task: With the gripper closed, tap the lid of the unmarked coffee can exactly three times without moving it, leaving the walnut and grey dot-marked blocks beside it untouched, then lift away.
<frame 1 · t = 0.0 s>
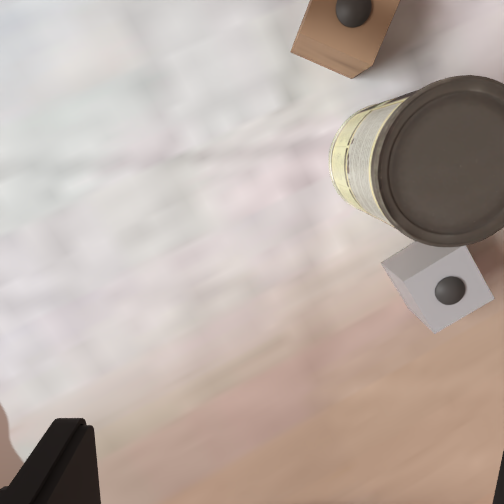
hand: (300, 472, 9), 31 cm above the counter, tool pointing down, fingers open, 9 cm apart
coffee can: (380, 159, 38), on the counter
walnut dotted block: (334, 31, 35), on the counter
grey dotted block: (420, 270, 41), on the counter
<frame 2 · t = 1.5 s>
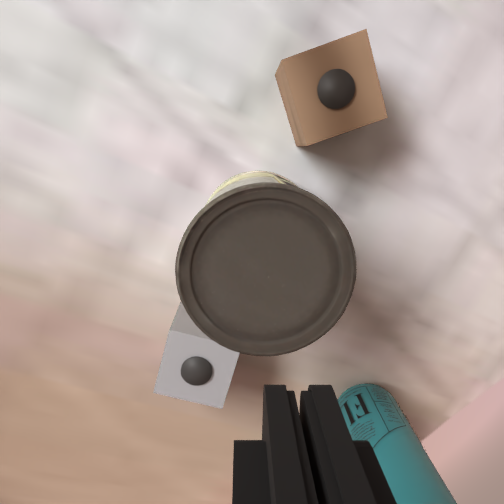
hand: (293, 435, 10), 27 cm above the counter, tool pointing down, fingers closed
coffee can: (257, 226, 36), on the counter
walnut dotted block: (319, 99, 34), on the counter
beverage bottle: (359, 400, 41), on the counter
grey dotted block: (203, 337, 39), on the counter
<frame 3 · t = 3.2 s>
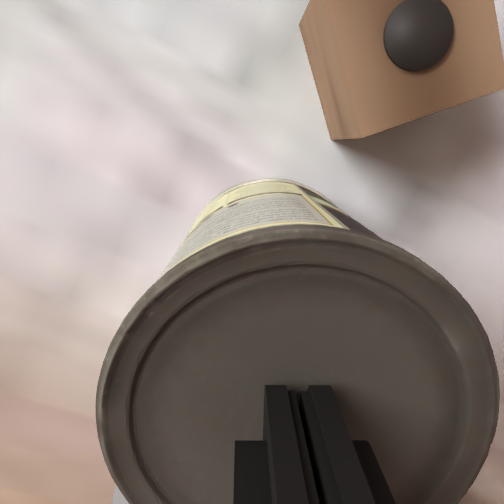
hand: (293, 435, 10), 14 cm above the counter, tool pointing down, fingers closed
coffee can: (268, 263, 24), on the counter, touching gripper
walnut dotted block: (369, 64, 21), on the counter
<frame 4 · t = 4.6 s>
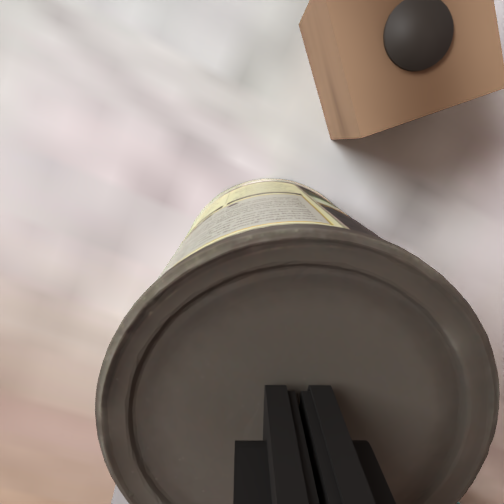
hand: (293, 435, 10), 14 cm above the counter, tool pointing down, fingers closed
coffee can: (268, 263, 24), on the counter, touching gripper
walnut dotted block: (369, 64, 21), on the counter
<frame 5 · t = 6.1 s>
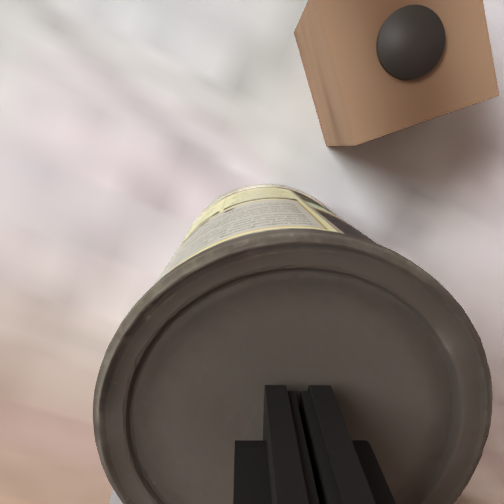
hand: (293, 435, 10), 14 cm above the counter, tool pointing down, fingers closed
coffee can: (264, 268, 24), on the counter
walnut dotted block: (364, 72, 21), on the counter
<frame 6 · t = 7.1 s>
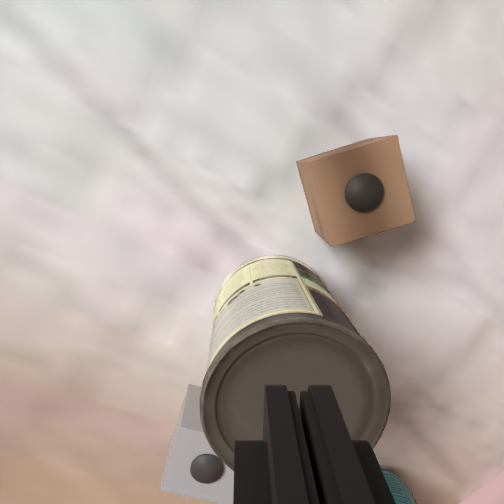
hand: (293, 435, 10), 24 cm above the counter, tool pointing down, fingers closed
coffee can: (271, 309, 35), on the counter
walnut dotted block: (340, 186, 33), on the counter
beverage bottle: (370, 482, 40), on the counter
grey dotted block: (211, 419, 37), on the counter
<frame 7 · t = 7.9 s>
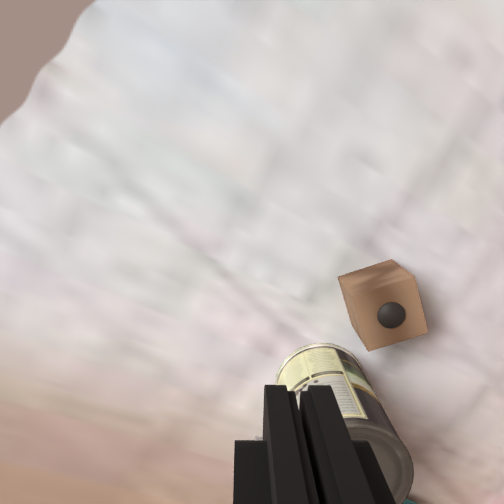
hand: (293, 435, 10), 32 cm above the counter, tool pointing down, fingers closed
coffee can: (318, 381, 46), on the counter
walnut dotted block: (371, 292, 44), on the counter
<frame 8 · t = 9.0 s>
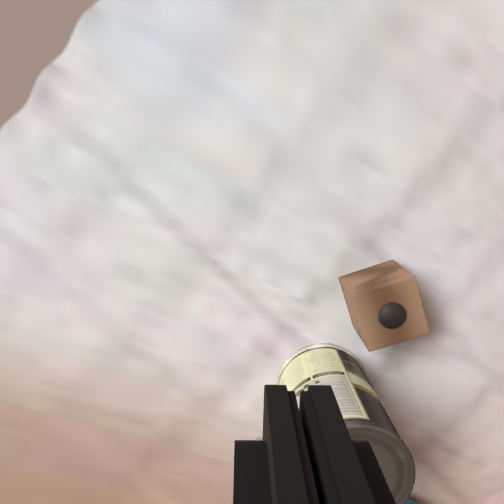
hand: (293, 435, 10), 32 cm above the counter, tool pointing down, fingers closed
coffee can: (319, 381, 46), on the counter
walnut dotted block: (371, 293, 44), on the counter
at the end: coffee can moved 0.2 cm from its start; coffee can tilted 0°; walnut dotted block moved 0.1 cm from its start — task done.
